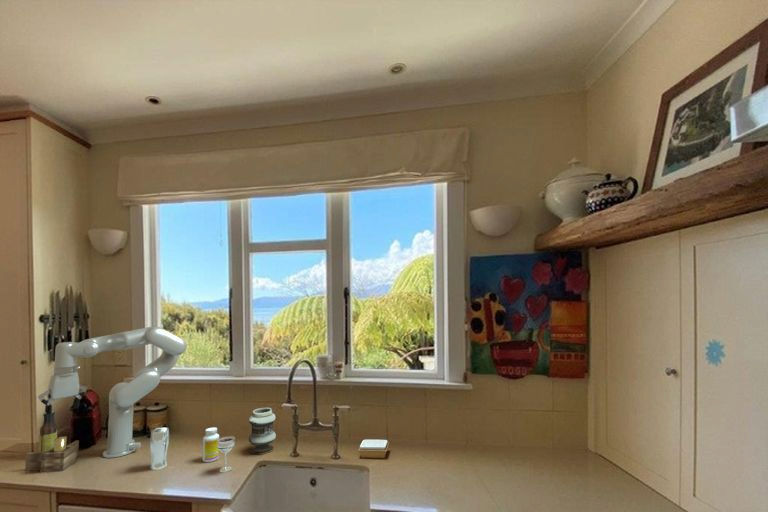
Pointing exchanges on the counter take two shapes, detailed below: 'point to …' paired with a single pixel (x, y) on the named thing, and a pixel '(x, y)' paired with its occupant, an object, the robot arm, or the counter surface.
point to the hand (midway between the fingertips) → (62, 411)
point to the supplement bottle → (210, 445)
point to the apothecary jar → (262, 430)
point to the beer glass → (159, 447)
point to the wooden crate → (52, 459)
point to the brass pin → (60, 444)
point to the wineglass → (226, 449)
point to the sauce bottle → (47, 433)
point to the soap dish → (373, 448)
